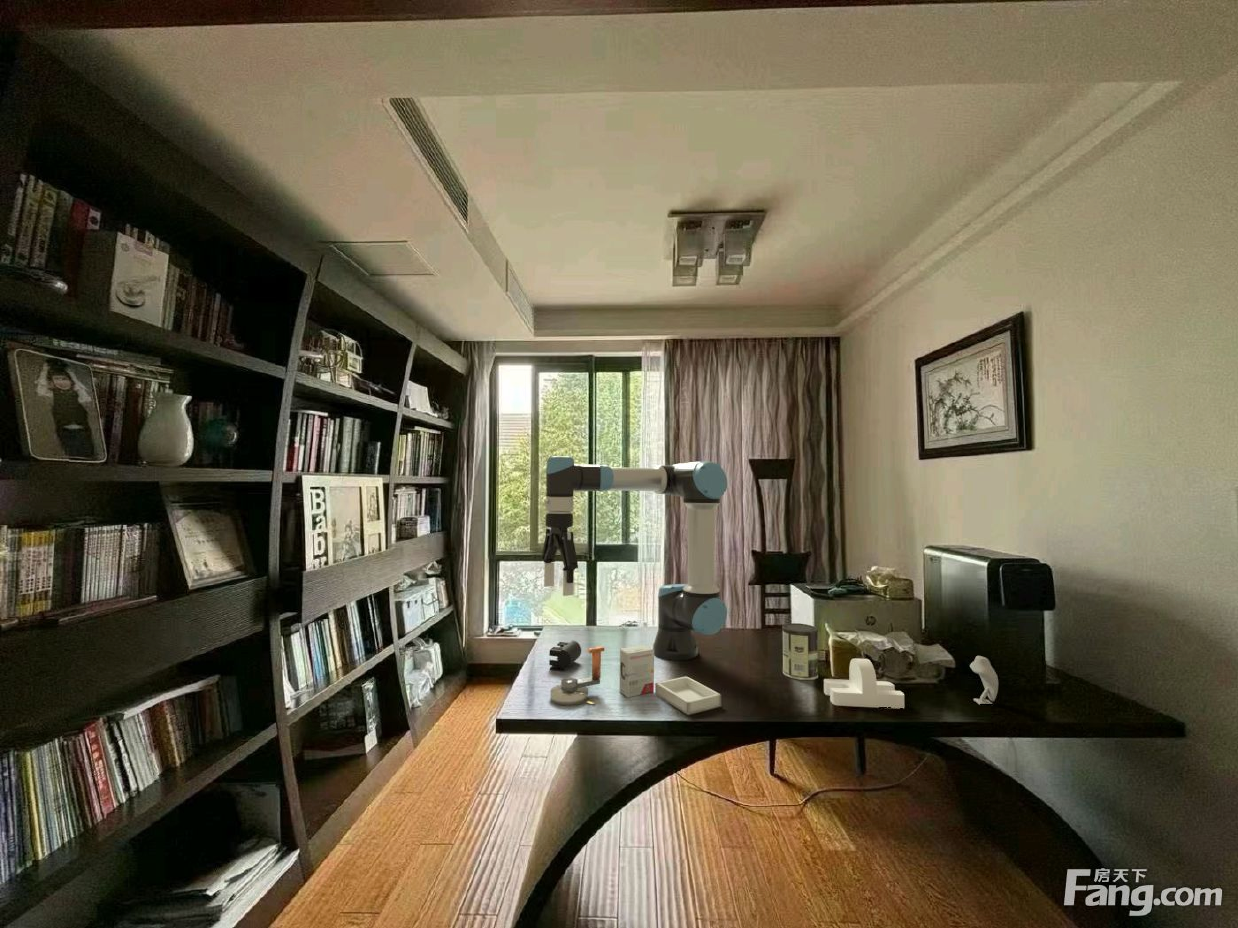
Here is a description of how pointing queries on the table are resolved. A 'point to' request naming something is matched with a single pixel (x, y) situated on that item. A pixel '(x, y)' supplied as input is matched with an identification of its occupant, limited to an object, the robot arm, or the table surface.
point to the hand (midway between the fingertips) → (558, 590)
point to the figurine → (985, 679)
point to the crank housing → (569, 696)
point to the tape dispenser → (863, 688)
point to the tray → (688, 695)
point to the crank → (574, 684)
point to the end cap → (564, 655)
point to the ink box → (636, 670)
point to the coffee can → (800, 651)
